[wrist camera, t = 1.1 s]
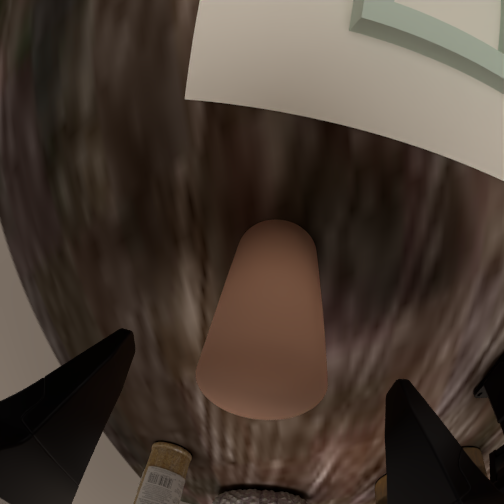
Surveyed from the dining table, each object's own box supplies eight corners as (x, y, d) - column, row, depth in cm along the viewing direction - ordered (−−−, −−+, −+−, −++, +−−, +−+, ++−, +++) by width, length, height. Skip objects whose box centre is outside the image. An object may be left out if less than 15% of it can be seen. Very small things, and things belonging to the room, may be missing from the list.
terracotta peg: (325, 228, 15) (347, 353, 8) (306, 295, 17) (306, 426, 10) (242, 212, 15) (197, 326, 8) (232, 281, 17) (194, 407, 10)
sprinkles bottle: (149, 447, 30) (116, 545, 18) (157, 435, 28) (120, 546, 16) (186, 462, 30) (159, 560, 19) (199, 451, 28) (170, 562, 16)
